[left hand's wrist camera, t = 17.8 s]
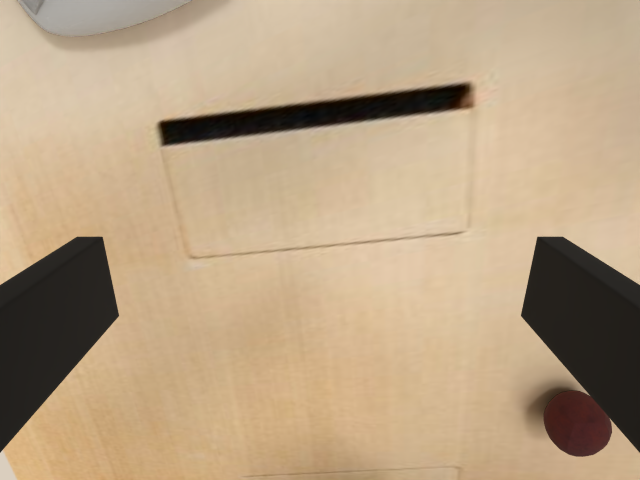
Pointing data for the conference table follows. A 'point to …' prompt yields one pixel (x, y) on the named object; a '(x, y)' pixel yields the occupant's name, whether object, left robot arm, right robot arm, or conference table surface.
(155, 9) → the projector
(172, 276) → the conference table surface
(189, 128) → the conference table surface
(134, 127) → the conference table surface
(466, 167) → the conference table surface
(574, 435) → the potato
